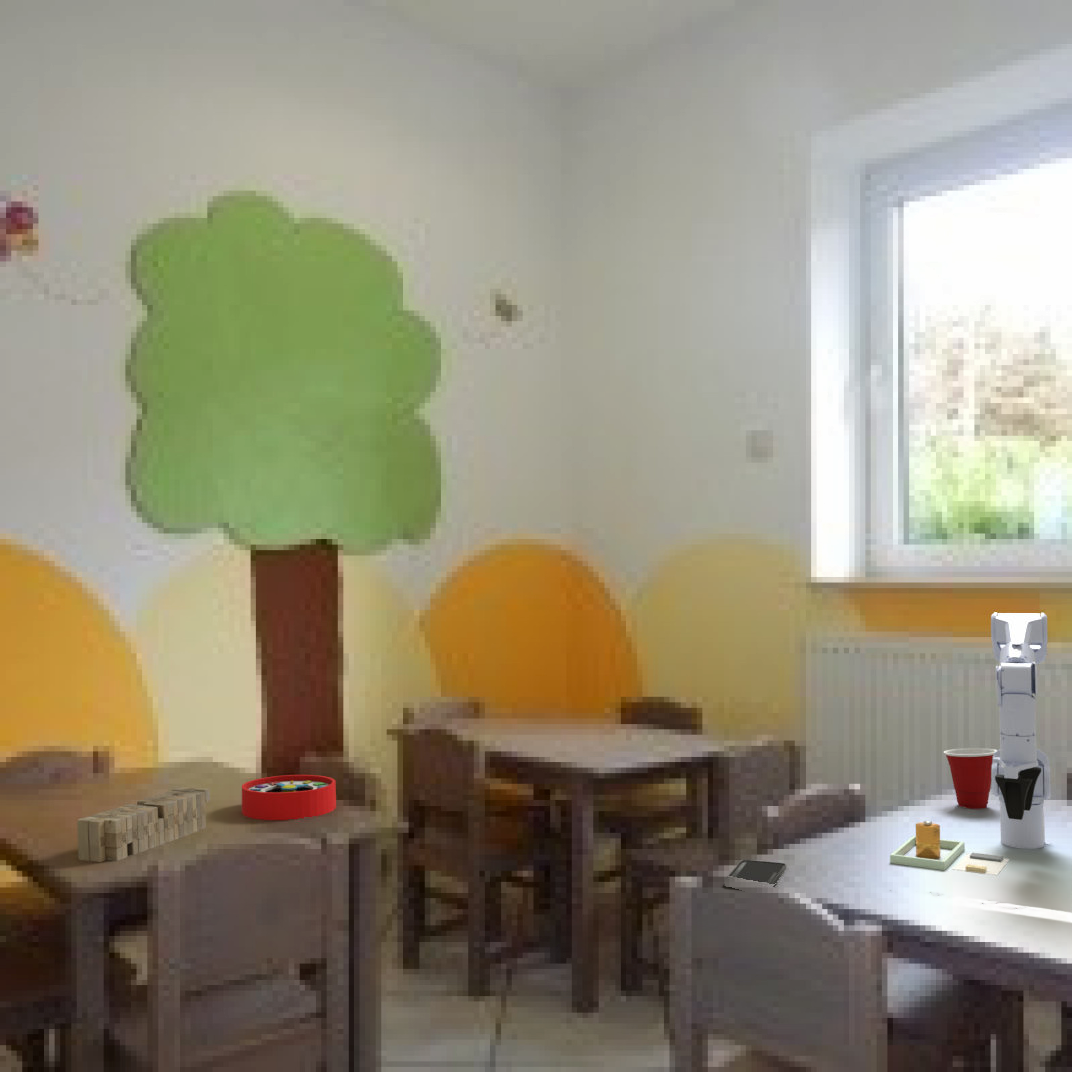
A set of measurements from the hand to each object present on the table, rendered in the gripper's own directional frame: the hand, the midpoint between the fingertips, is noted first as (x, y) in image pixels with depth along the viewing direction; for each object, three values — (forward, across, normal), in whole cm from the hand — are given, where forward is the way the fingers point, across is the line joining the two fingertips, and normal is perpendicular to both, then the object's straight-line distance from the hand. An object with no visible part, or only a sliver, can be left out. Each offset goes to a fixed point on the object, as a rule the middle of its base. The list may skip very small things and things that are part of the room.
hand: (1019, 814), depth 192 cm
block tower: (+10, +61, -147) cm, 160 cm away
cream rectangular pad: (+9, +4, -6) cm, 12 cm away
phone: (+10, +26, -37) cm, 46 cm away
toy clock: (+10, +27, -144) cm, 147 cm away
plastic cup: (+10, -47, -17) cm, 51 cm away
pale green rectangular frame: (+9, +3, -14) cm, 18 cm away
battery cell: (+9, +3, -14) cm, 17 cm away
